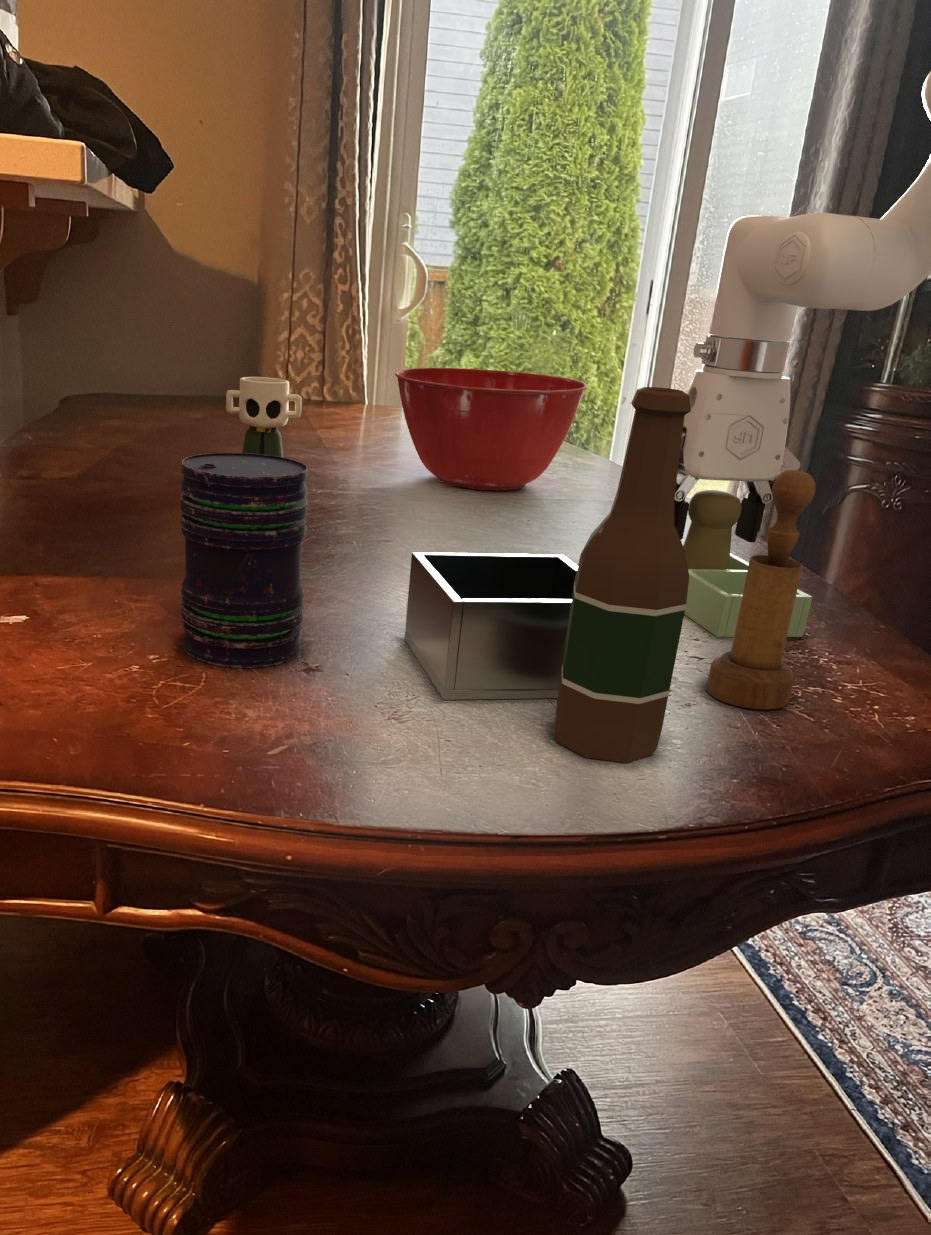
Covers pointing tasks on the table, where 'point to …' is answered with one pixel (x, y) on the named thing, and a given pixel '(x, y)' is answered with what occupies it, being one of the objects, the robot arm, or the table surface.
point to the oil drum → (243, 558)
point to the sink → (490, 622)
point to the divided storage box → (731, 600)
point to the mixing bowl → (487, 423)
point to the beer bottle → (629, 598)
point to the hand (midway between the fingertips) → (708, 537)
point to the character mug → (263, 412)
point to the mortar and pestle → (766, 610)
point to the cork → (711, 529)
